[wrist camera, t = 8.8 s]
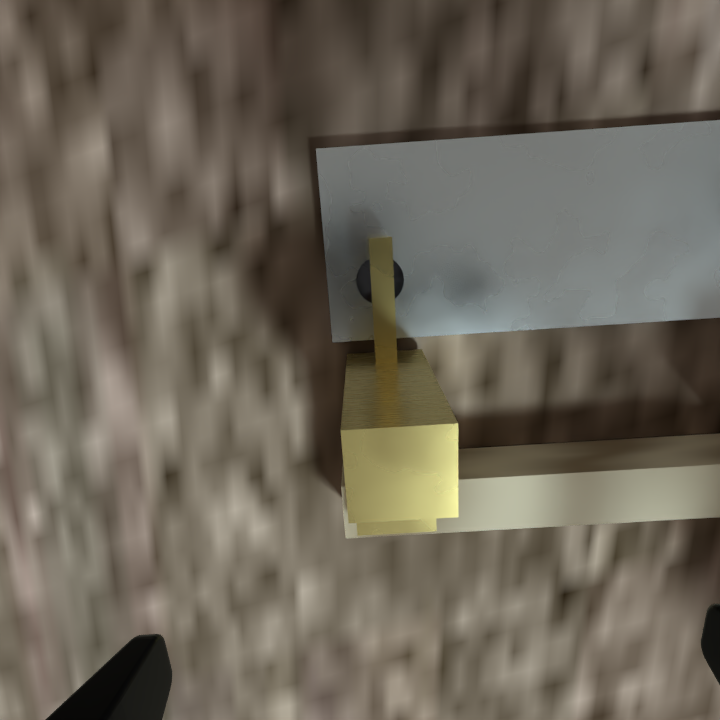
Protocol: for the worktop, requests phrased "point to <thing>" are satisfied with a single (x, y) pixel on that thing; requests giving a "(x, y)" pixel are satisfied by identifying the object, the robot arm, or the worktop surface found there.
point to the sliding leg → (395, 426)
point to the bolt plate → (526, 229)
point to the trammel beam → (581, 484)
